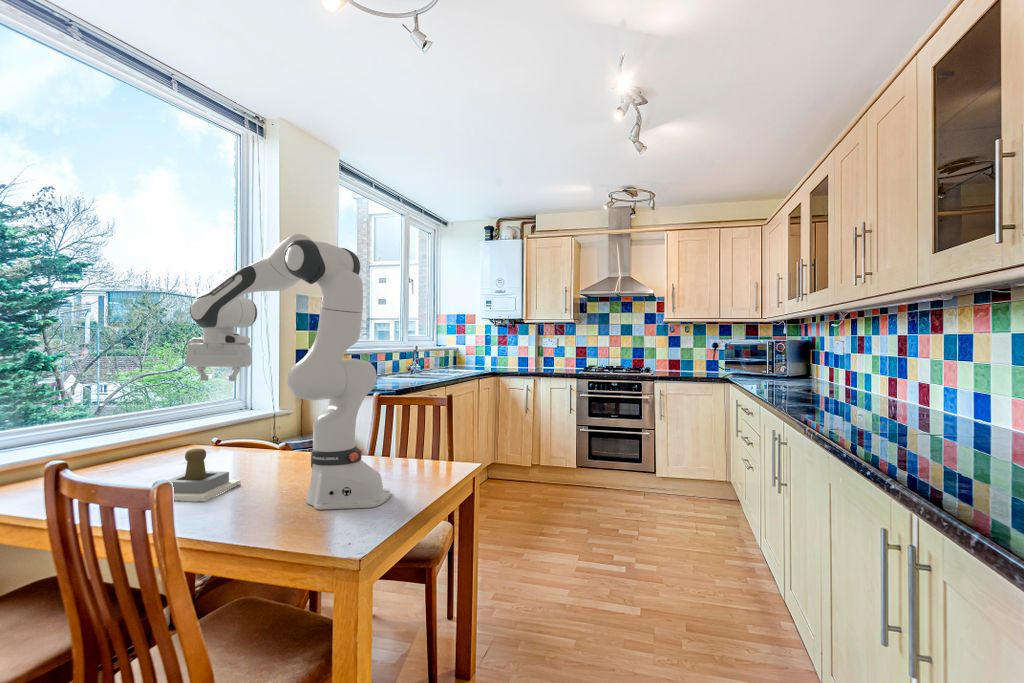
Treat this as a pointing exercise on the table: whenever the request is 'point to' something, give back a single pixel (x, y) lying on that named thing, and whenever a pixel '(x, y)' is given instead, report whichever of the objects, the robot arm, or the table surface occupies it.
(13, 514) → the table surface
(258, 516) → the table surface
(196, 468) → the cork
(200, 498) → the socket board
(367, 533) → the table surface
